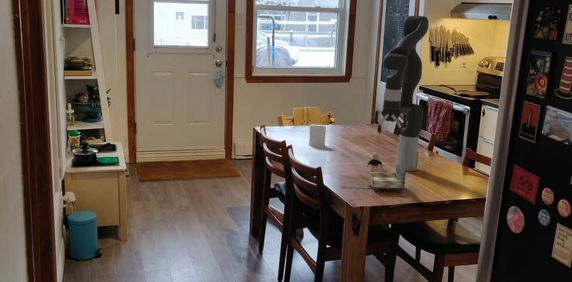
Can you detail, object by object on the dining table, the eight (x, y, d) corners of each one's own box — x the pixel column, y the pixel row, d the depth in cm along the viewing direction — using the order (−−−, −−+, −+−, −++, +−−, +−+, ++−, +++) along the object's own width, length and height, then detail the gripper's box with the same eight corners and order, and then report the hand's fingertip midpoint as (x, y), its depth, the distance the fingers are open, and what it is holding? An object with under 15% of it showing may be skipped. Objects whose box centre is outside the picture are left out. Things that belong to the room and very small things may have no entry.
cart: (397, 183, 269) (398, 164, 267) (403, 192, 257) (405, 172, 254) (366, 183, 268) (368, 163, 266) (372, 191, 256) (373, 171, 254)
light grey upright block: (324, 144, 340) (326, 124, 337) (324, 148, 331) (325, 127, 329) (309, 143, 341) (310, 123, 338) (308, 147, 332) (309, 126, 329)
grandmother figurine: (368, 179, 274) (370, 153, 271) (364, 177, 278) (366, 151, 275) (383, 179, 276) (385, 152, 273) (379, 176, 280) (381, 150, 277)
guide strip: (397, 187, 264) (397, 186, 264) (398, 189, 261) (399, 188, 261) (340, 185, 263) (340, 185, 263) (340, 187, 260) (341, 187, 260)
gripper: (409, 99, 264) (406, 134, 267) (377, 96, 268) (374, 131, 272) (407, 101, 257) (403, 137, 261) (375, 98, 261) (372, 134, 265)
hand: (389, 134), depth 266 cm, fingers open, 8 cm apart
